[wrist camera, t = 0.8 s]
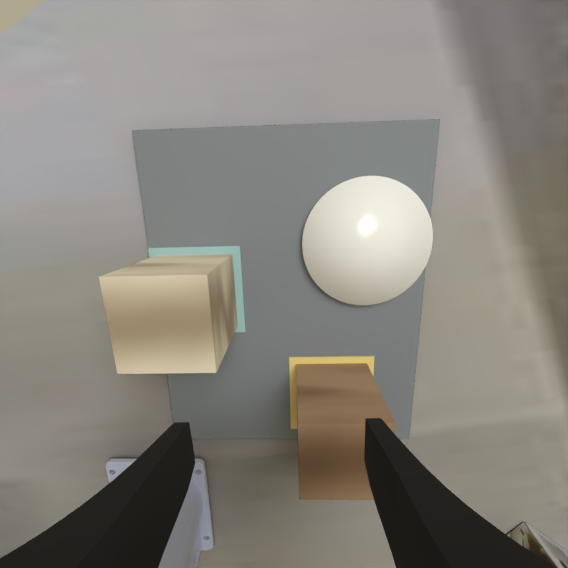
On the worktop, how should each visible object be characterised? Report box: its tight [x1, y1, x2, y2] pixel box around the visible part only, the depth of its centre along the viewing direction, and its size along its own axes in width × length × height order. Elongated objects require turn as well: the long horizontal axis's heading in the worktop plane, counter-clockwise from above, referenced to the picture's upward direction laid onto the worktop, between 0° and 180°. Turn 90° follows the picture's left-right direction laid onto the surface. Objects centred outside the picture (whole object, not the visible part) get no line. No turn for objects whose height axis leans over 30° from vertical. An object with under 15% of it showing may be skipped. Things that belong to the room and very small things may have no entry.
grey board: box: [132, 119, 440, 439], centre depth 20 cm, size 22×18×1 cm
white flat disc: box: [302, 176, 433, 305], centre depth 19 cm, size 8×8×1 cm
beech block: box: [99, 254, 238, 374], centre depth 17 cm, size 5×5×6 cm
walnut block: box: [296, 363, 396, 500], centre depth 19 cm, size 5×5×6 cm
